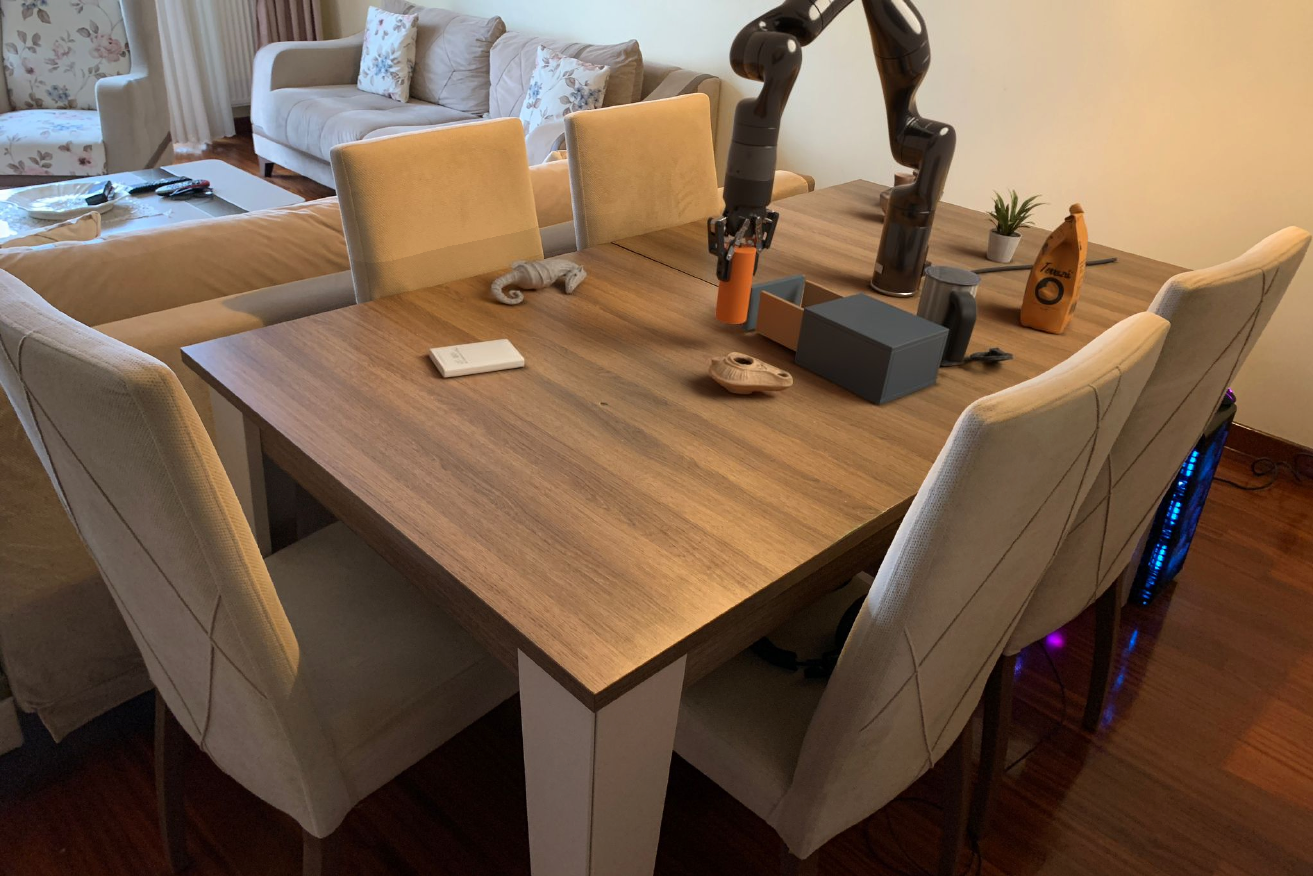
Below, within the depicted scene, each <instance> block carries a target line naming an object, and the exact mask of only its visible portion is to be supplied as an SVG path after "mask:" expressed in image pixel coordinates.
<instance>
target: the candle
mask: <svg viewBox="0 0 1313 876" xmlns="http://www.w3.org/2000/svg"><path fill="white" fill-rule="evenodd" d="M728 247H729V244H727V246H726V249H725V251H727V249H728ZM755 256H756V248H755V247H754V246H752V245H749V244H746V242H745V243H744V242H742V241H741V243H740V245H739V246H738V247H736V249H735V251H734V254H733V256H732V258H731V260H732V265H731V273H730V280H729V281H728V282H723V281H721V280H719V281H718V289H717V290H718V291H717V296H716V297H717V298H716V305H715V314H714V317H715V319H716V320H717V321H720V322H721V323H725V324H730V325H739V324H742V323H743V322H745V321H746V319H747V312H748V305H749V298H750V291H751V285H753V284H752V283H753V277H754V276H753V270H754V263H755Z"/></svg>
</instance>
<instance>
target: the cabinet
mask: <svg viewBox="0 0 1313 876" xmlns="http://www.w3.org/2000/svg"><path fill="white" fill-rule="evenodd" d="M803 312H804V313H803V317H802V322H801V328H800V334H799V339H798V345H797V351H795V358H794V363H795V364H797V365H798V366H800V367H802V368H805V369H807V370H809V371H811V372H813V373H814V374H816V375H818V376H819V377H823V378H824V379H826V380H828V381H831V382H832V383H834V384H836V385H837V386H840V387H842V388H844V389H846V390H848V391H850V392H852V393H854V394H856V395H858V396H860V397H862V398H864V399H865V400H867V401H869V402H872V403H873V404H875V405H878V406H882V405H883V404H886V403H889V402H892V401H894V400H896V399H899V398H902V397H904V396H908V395H909V394H913V393H915V392H917V391H920V390H924V389H925V388H928V387H931V386H934V385H935V384H936V382H937V379H938V375H939V370H940V363H941V359H942V355H943V352H944V348H945V344H946V340H947V336H948V332H949V329H948V328H945V327H943V326H940V325H938V324H936V323H933V322H931V321H928V320H926V319H924V318H921V317H919V316H916V315H917V314H914V313H911V312H909V311H907V310H904V309H902V308H899V307H897V306H895V305H893V304H890V303H887V302H885V301H882V300H880V299H879V298H876V297H873V296H870V295H868V294H867V293H863V292H859V293H855V294H851V295H849V296H848V295H847V297H844V298H840V299H836V300H832V301H829V302H825V303H821V304H817V305H813V306H810V307H806V308H804V311H803Z"/></svg>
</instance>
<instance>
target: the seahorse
mask: <svg viewBox="0 0 1313 876" xmlns="http://www.w3.org/2000/svg"><path fill="white" fill-rule="evenodd" d="M509 268H510V269H512V270H513V271H510V272H508V273H507V274H502V275H501V276H499V277H497V278H496V279H495V280H494V281H493V282H492V283H491V287H490V290H489V292H490V294H491V296H493V298H494V300H497V301H498V302H501V303H503V304H505V305H511V306H513V305H518V304H520V303H521V302H523V300H524V294H522V292H521V291H520V290H514V289H511V290H510V291H509V292H508V296H509V297H507V296H506V295H505V293H503V291H502V289H503V288H505V287H506V286H509V285H516V286H518V287H519V288H521V289H523V290H531V289H532V290H533V289H534V290H537V291H539V290H542V289H544V288H547V287H550V286H551V285H552V284H553V283H555V282H556V280H557V279H560V278H563V277H564V286H565V293H566V294H572V293H573V292H574V290H575V288H577V286H578V285H580V284H581V283H582V282H583V281H584V279H585V278H587V277H588V274H587V272H586V271H585V269H584V264H581V265H578V264H577V263H576V262H573V261H572V260H571V261H570V260H567V259H563V258H554V257H553V258H547V259H541V260H532V261H526V260H517V261H514V262H512V263H511V264H509ZM515 297H517V298H515Z"/></svg>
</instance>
